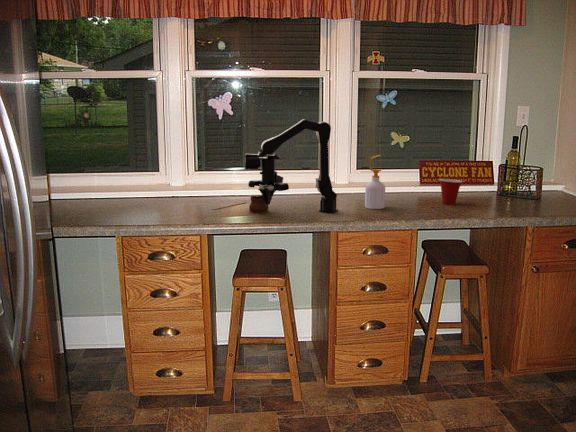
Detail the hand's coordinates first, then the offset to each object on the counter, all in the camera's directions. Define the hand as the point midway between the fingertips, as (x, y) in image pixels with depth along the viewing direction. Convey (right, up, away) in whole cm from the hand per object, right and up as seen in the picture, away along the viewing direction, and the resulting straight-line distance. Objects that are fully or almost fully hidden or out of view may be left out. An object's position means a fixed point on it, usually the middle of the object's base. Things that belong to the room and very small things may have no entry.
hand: (268, 204), depth 241 cm
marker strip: (-19, -1, +15) cm, 24 cm away
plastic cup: (+87, +1, +24) cm, 90 cm away
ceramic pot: (-4, -4, +4) cm, 7 cm away
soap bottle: (+49, -1, +14) cm, 51 cm away
